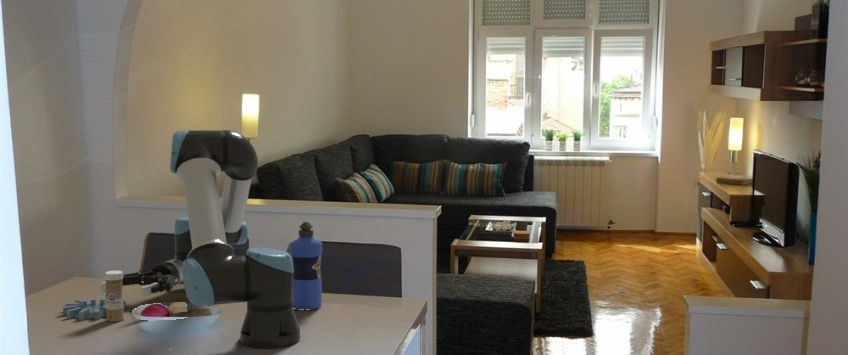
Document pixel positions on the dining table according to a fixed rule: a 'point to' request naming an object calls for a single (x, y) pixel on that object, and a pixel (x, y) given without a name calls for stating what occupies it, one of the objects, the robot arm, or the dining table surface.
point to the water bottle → (306, 269)
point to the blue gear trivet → (87, 309)
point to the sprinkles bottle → (114, 296)
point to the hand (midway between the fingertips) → (121, 290)
